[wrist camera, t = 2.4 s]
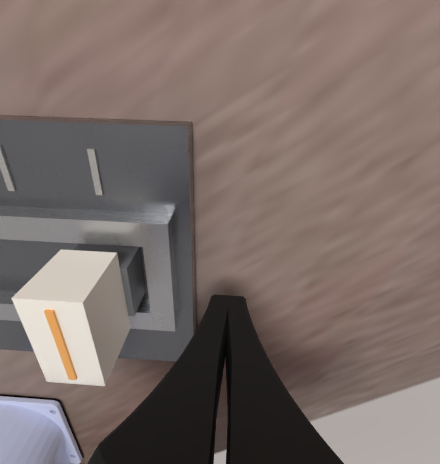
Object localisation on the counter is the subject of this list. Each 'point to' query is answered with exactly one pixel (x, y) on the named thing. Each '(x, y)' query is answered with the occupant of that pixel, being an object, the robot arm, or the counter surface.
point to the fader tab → (81, 311)
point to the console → (101, 215)
